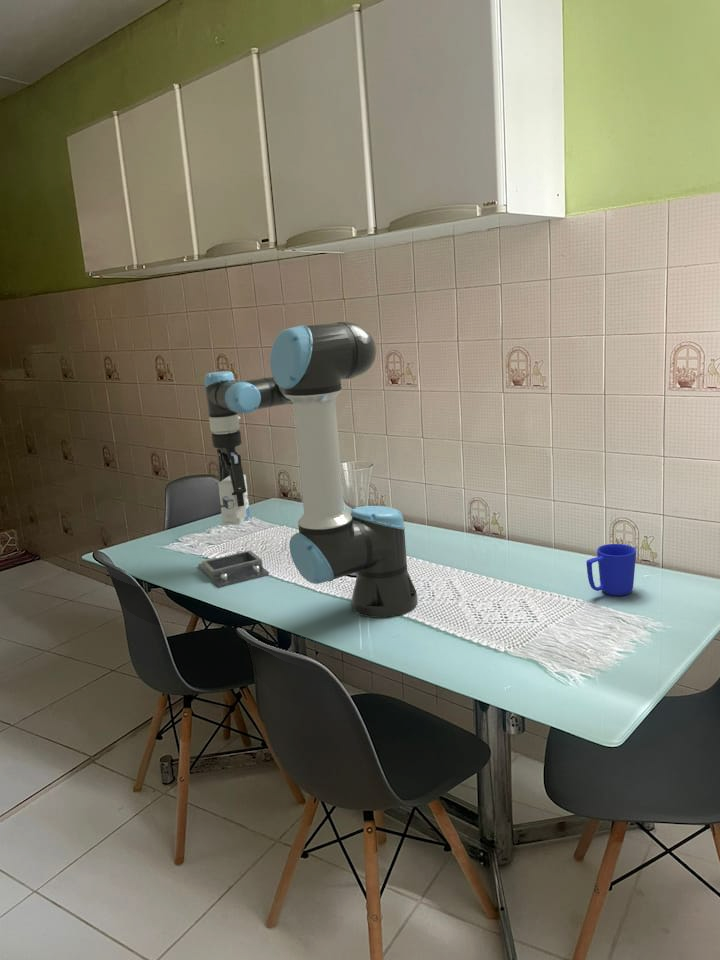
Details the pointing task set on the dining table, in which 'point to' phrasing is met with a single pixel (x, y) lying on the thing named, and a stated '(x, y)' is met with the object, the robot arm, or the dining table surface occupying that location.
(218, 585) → the tray
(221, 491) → the ink box
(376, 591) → the robot arm
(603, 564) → the mug
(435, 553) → the dining table surface
